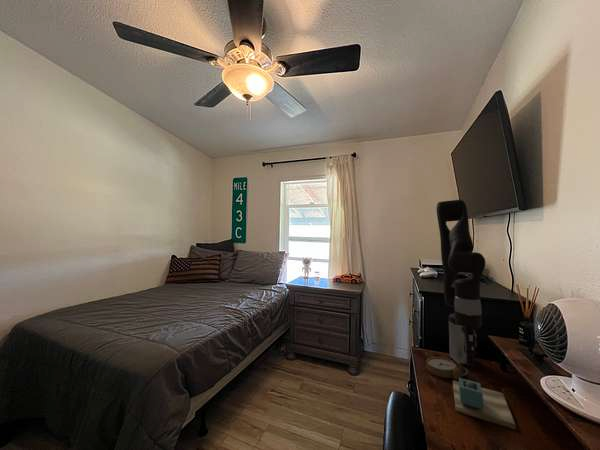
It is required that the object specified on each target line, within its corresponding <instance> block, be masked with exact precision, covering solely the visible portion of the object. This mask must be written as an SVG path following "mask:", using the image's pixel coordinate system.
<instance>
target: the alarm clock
mask: <svg viewBox="0 0 600 450" xmlns="http://www.w3.org/2000/svg"><path fill="white" fill-rule="evenodd" d="M426 365H427V366H425V369H427V370H428V372H429V373H431V374H432V375H434V376H436V377H439V378H445V379H453V380H454V381H459V378H462V377H465V376H468V375H469V371H468V369H467V368H466V367H464V366H463V365H462V364H460V363H459V362H458V361H455V360H454V361H453V360H451V359H450V358H445V357H441V356H432V357H429V358H428V357H427V359H426ZM462 371H465V372H464V373H462Z"/></svg>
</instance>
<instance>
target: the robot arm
mask: <svg viewBox="0 0 600 450" xmlns="http://www.w3.org/2000/svg"><path fill="white" fill-rule="evenodd" d="M467 208H468V207H467V205H466V202H465V201H464V200H463V199H453V200H444V201H439V202H437V203H436V217H437V223H438V228H439V237H440V253H441V254H440V255H441V264H442V272H443V297H444V303H445V305H446V306H447V307H452V308H454V312H453V313H450V314H448V337H449V338H448V339H449V344H448V345H449V358H450V357H451V358H452V359H453V360H455V361H458V362H459V363H463V364H468V365H467V366H472V367H476V356H477V354H478V353H477V345H478V344H477V336H478V335H477V332H476V329H480V328H482V327H483V317H482V314H483V313H482V304H481V302H482V301H481V292H480V287H481V280H482V277H483V274H484V271H485V267H486V259H485V256H483V254H481V253H480V252H474V249H475V248H474V243H473V240H472V237H471V236H472V235H471V232H470V224H469V223H470V221H469V213H468V209H467ZM447 222H456V223H455V225H453V226H452V228H451V229H449V226H448V225H447ZM459 273H465V274H470V275H469V276H468V277H466V278H458V279H456V280H455V278H456V277H457V276H458V275H459ZM454 280H455V281H454ZM453 282H454V283H453ZM453 284H454V287H453ZM453 360H452V361H453ZM463 364H462V365H463Z"/></svg>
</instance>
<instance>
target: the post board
mask: <svg viewBox="0 0 600 450" xmlns="http://www.w3.org/2000/svg"><path fill="white" fill-rule="evenodd" d="M466 387H468V388H472V389H475V388H474V384H473V383H471V382H466ZM452 389H453V397H454V408H455V411H456V412H458V413H462V414H465V415H468V416H471V417H475V418H477V419H481V420H483V421H487V422H490V423H493V424H497V425H499V426H503V427H504V428H508V429H509V428H510V429H512V430H516V429H517V426H516V422H515V419H514V417H513V415H512V412H511V410H510V408H509V405H508V403H507V401H506V398H505V395H504V393H503V392H499V391H496V390H495V391H494V390H492V389H488V388H484V387H481V389H482V393H483V409H480V408H477V407H474V406H470V405H467V404H464V403H461V402H460V394H459V381H458V380H455V379H453V380H452Z"/></svg>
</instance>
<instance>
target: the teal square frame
mask: <svg viewBox="0 0 600 450" xmlns="http://www.w3.org/2000/svg"><path fill="white" fill-rule="evenodd" d="M458 382H459V394H460V402H461V403H464V404H467V405H470V406H474V407H477V408H480V409H483V393H482V389H481V388H482V386H481V383H480V382H477V381H473V380H469V379H465V378H462V377H461V378H459V380H458ZM466 382H471V383H473V384H474V388H475V389H472V388H468V387H466Z"/></svg>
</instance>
